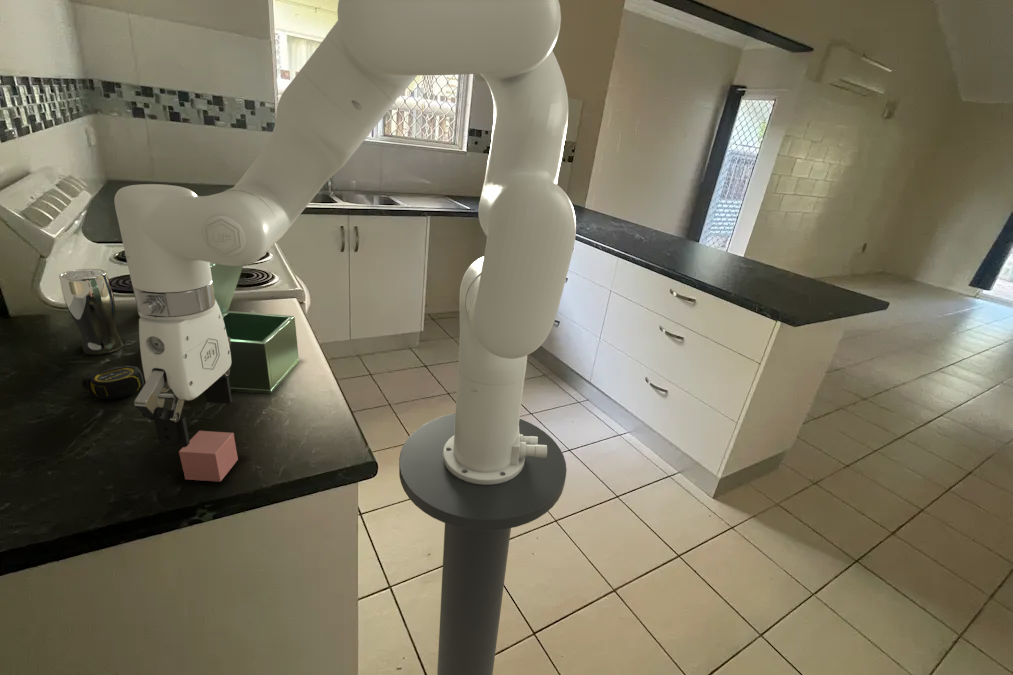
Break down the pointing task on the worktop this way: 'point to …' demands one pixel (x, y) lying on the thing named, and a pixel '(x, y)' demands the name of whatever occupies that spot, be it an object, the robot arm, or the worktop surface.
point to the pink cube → (209, 456)
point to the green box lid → (224, 283)
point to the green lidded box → (260, 350)
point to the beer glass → (92, 309)
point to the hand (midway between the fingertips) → (198, 422)
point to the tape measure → (114, 382)
